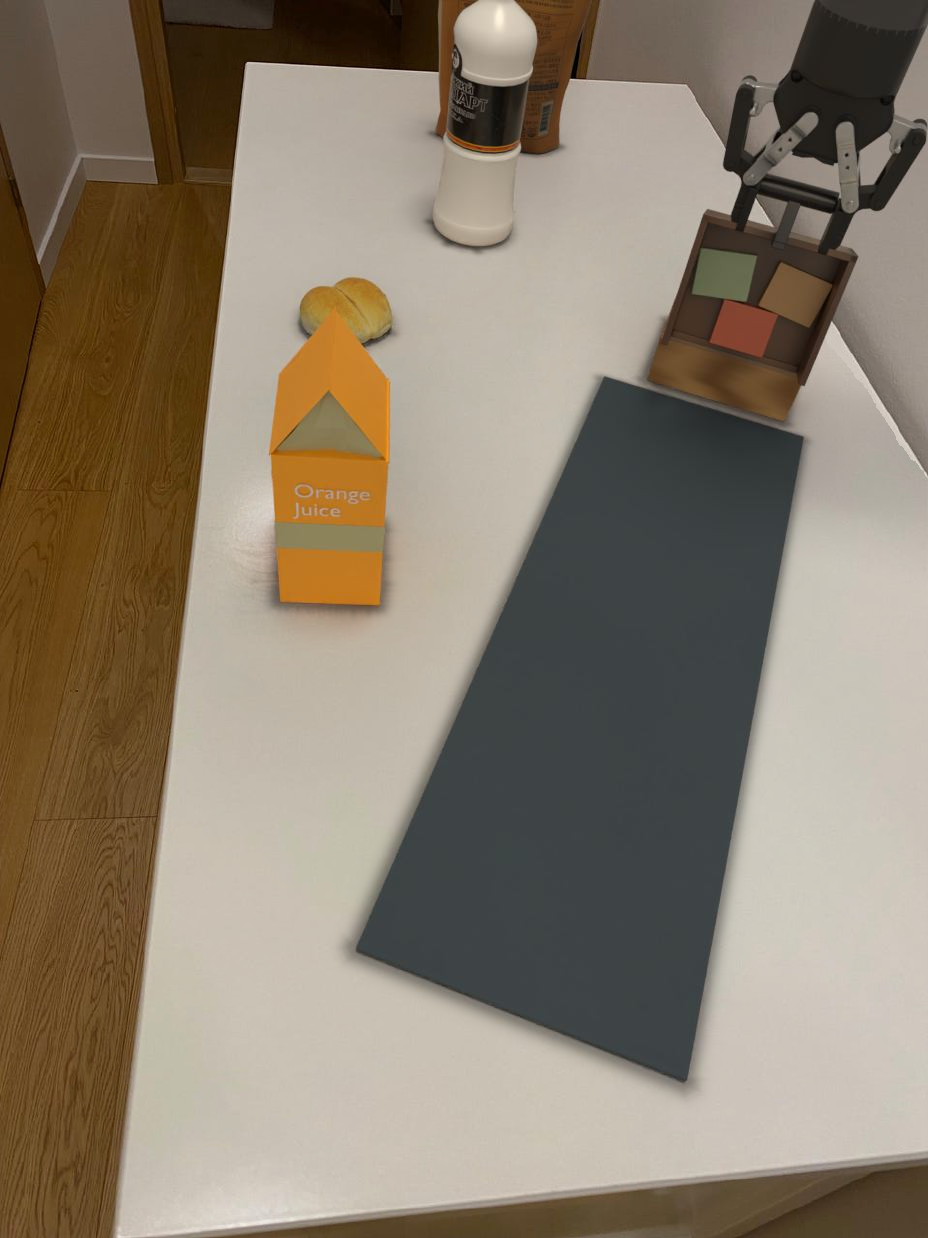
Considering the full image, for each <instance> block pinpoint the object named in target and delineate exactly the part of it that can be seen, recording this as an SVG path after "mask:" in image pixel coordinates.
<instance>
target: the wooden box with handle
mask: <svg viewBox="0 0 928 1238" xmlns="http://www.w3.org/2000/svg"><path fill="white" fill-rule="evenodd" d="M758 195H759V196H763V197H766V198H769V199H774V200H777V201H780V202H781V201H782V202H785V203H786V205H785V207H784V210H783V213H782V216H781V219H780V221H779V224H778V227H775V226H772V225H767V224H764V223H761V222H757V221H754V220H749V219H748V221H747V224H746V226H745V229H744V232H739V231H735V228H736V225H737V223H735V222H731V214H728V213H724V212H721V211H717V210H714V209H710V208H706V209H705V211H704V213H703V214H702V217H701V220H700V223H699V226H698V229H697V232H696V235H695V238H694V241H693V244H692V248H691V249H690V250H691V251H690V253H689V256H688V259H687V262H686V266H685V269H684V271H683V274H682V277H681V281H680V283H679V287H678V289H677V292H678V293H677V292H676V295H677V296H676V295H675V297H676V299H675V298H674V300H675V302H674V301H673V303H674V305H673V304H672V305H673V308H672V307H671V308H672V311H671V314H670V317H669V320H668V323H667V326H666V329H665V332H664V335H663V338H662V341H661V344H663V345H666V346H667V345H668V342H669V340H670V338H671V336H672V337H675V338H678V339H681V340H685V341H688V342H692V343H695V344H698V345H702V346H705V347H709V348H712V349H715V350H719V351H722V352H726V353H729V354H732V355H736V356H739V357H743V358H746V359H749V360H753V361H756V362H760V363H763V364H766V365H770V366H773V367H776V368H780V369H783V370H787V371H790V372H793V373H797V379H798V385H801V387H806V384H807V382H808V379H809V377H810V375H811V373H812V370H813V368H814V366H815V363H816V360H817V358H818V355H819V353H820V351H821V348H822V345H823V343H824V341H825V339H826V336H827V334H828V331H829V330H830V326H831V324H832V322H833V318H834V317H835V314H836V312H837V310H838V307H839V305H840V302H841V300H842V298H843V295H844V293H845V291H846V288H847V286H848V283H849V281H850V279H851V276H852V274H853V271H854V268H855V266H856V264H857V261H858V259H859V255H858V253H857V252H856V251H855V249H853V248H852V247H848V246H844V245H840V246H839V247H838V248H837V249H836V250H833V249H829V251H828V253H827V255H822V254H819V253H817V252H818V248H819V244H820V241H821V239H818V238H816V237H812V236H808V235H805V234H804V235H803V234H801V233H798V232H793V231H792V229H793V226H794V224H795V221H796V219H797V216H798V214H799V212H800V208H801V207H803V208H807V209H810V210H813V211H818V212H821V213H825V214H828V215H832V213H833V211H834V208H835V206H836V204H837V201H838V199H839V198H840V196H841V192H839V191H835V190H833V189H828V188H825V187H820V186H817V185H813V184H810V183H806V182H802V181H799V180H794V179H791V178H787V177H783V176H780V175H775V174H772V173H769V172H768V173H767V174H766V175H765V176H764V177H763V178H762V181H761V184H760V187H759V190H758V193H757V196H758ZM702 246H704V247H712V248H719V249H726V250H734V251H741V252H749V253H756V254H757V260H756V265H755V269H754V273H753V278H752V282H751V286H750V290H749V295H748V299H747V302H745V303H749V304H752V305H756V306H759V305H758V302H759V300H760V299H761V297H762V295H763V293H764V291H765V289H766V287H767V285H768V283H769V281H770V279H771V277H772V275H773V274H774V272H775V270H776V268H777V266H778V264H779V262H780V260H782V261H784V262H786V263H788V264H791V265H793V266H795V267H798V268H800V269H802V270H804V271H807V272H809V273H811V274H813V275H816V276H818V277H820V278H823V279H825V280H827V281H829V282H832V284H833V287H832V289H831V290H830V292H829V294H828V296H827V298H826V299H825V301H824V303H823V305H822V307H821V308H820V310H819V312H818V314H817V316H816V317H815V319H814V321H813V323H812V325H811V326H810V328H808V327H806V326H803V325H801V324H799V323H797V322H794V321H792V320H790V319H788V318H785V317H783V316H781V315H778V317H777V320H776V322H775V325H774V328H773V330H772V333H771V335H770V338H769V341H768V343H767V346H766V348H765V351H764V354H763V356H762V358H760V357H757V356H754V355H750V354H747V353H743V352H740V351H737V350H733V349H730V348H726V347H723V346H720V345H716V344H713V343H710V342H709V341H710V338H711V335H712V332H713V329H714V326H715V323H716V321H717V318H718V315H719V312H720V309H721V307H722V304H723V301H724V299H722V298H715V297H708V296H701V295H694V294H692V293H691V292H692V288H693V283H694V278H695V273H696V268H697V263H698V258H699V253H700V249H701V247H702ZM759 307H760V306H759Z"/></svg>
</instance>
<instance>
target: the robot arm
mask: <svg viewBox="0 0 928 1238" xmlns="http://www.w3.org/2000/svg"><path fill="white" fill-rule="evenodd" d="M927 27H928V0H814V2H813V3H812V6H811V9H810V11H809V14H808V17H807V20H806V23H805V27H804V28H803V31H802V35H801V37H800V39H799V43H798V46H797V48H796V51H795V55H794V57H793V60H792V63H791V66H790V69H789V70H788V72H786V73H787V74H785V76H784V77H783V78H782V79H780V81H779V82H778V83H773V82H764V81H763V82H762V81H758V79H757V77H756V76H754V75H750V74H749V75H745V76H744V77H743V78H742V79H741V82H740V84H739V86H738V88H737V91H736V93H735V97H734V102H733V108H732V113H731V119H730V124H729V129H728V134H727V140H726V146H725V150H724V156H723V160H722V168H723V169H724V170H725V171H726V172H728V173H732V172H733V173H734V174H736V175H737V176H738V177H739V180H740V187H739V190H738V193H737V195H736V199H735V201H734V205H733V208H732V211H731V213H730V215H731V222H735V223H737V225H736V228H735V231H739V232H744V229H745V226H746V224H747V221H748V220H749V217H750V215H751V212H752V209H753V207H754V204H755V201H756V198H757V196H758V194H757V193H758V190H759V187H760V184H761V181H762V178H763V177H764V176H765V175H766V174H767V173H769V172H770V171H771V170H772V169H773V168H774V167H776V166H777V165H779V164H780V163H781V162H782V160H784V158H786V157H787V155H788V154H790V152H792V153H791V156H794V157H798V158H802V159H808V158H809V159H810V158H811V159H815V160H817V161H818V162H820V163H821V164H824V165H828V166H831V167H834V166H835V164H837V166H838V179H839V180H838V182H839V186H840V187H839V188H840V197H839V198H838V201H837V204H836V206H835V208H834V211H833V213H832V214H830V217H829V220H828V222H827V224H826V227H825V229H824V231H823V233H822V236H821V238H820V240H821V241H820V244H819V248H818V252H817V253H819V254H822V255H827V253H828V251H829V249H833V250H836V249H837V248H838V247H839V246H840V245H841V244H842V243H843V240H844V238H845V236H846V233H847V231H848V229H849V227H850V225H851V223H852V220H853V218H854V216H855V215H856V213H858V212H859V211H862V210H871V211H873V212H880V211H883V210H884V209H885V208H886V206H887V205H888V203H889V202H890V200H891V198H892V197H893V195H894V193H895V192H896V190H897V189H898V187H899V186H900V184H901V183H902V181H903V180H904V178H905V176H906V175H907V173H908V172H909V170H910V169H911V167H912V165H913V164H914V162H915V161H916V159H917V158H918V156H919V154H920V153H921V151H922V150H923V148H924V146H925V145H926V142H927V138H928V137H927V135H928V122H927V121H926V120H925V119H924V118H916V119H914V120H913V121H912V120H909V119H907V118H905V117H902V116H901V115H897V114H895V110H896V109H895V101H896V98H897V95H898V93H899V91H900V90H901V86H902V84H903V82H904V79H905V77H906V75H907V73H908V70H909V68H910V66H911V63H912V62H913V59H914V57H915V55H916V52H917V50H918V48H919V46H920V44H921V41H922V40H923V37H924V34H925V32H926V30H927ZM769 103H773V107H774V111H775V114H776V117H777V121H778V124H779V125H778V126H779V127H778V128H777V129H776V130H775V131H774V132H773V133H772V134H771V135H770V137H769V138H768V139H767V141H766V142H765V144H763V145H762V147H760V149H758V151H757V152H756V153H754V155H753V154H751V153H750V152H749V151H748V150H746V149H745V148H746V143H747V138H748V133H749V130H750V129H749V128H750V123H751V119H752V118H755V117H758V116H760V115H761V113H762V111H763V108H764V107H765V106H766V105H767V104H769ZM886 133H887V134H889V135H890V139H889V146H888V150H889V152H890V153H891V155H890V157H889V158H888V160H887V162H886V163H885V165H884V166H883V168H882V170H881V171H880V173H879V175H878V176H877V178H876V180H875V181H874V182H873V183H872V184H863V185H862V175H861V161H862V160H861V151H862V150H864V149H865V148H866V147H868V146H870V144H872V143H874V142H875V141H876V140H878V139H880V137H882V136H883V135H885V134H886ZM841 246H842V245H841Z"/></svg>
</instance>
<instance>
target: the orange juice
mask: <svg viewBox="0 0 928 1238" xmlns="http://www.w3.org/2000/svg"><path fill="white" fill-rule="evenodd" d="M276 386H277V387H276V396H275V403H274V411H273V419H272V427H271V433H270V434H271V435H270V443H269V449H268V450H269V451H268V457H270V465H271V471H270V472H271V473H270V475H271V483H272V495H273V511H274V513H273V514H274V536H275V537H274V538H275V549H276V556H277V557H276V558H277V559H276V560H277V573H278V574H277V575H278V589H279V602H280V603H299V604H325V605H352V606H353V605H354V606H355V605H356V606H357V605H358V606H380V605H381V587H382V574H383V573H382V572H383V558H384V557H383V555H384V549H385V548H384V547H385V531H386V508H387V493H388V492H387V491H388V487H389V480H388V478H389V464H390V462H391V461H390V458H391V457H390V455H391V454H390V452H391V449H390V447H391V446H390V441H391V440H390V439H391V437H390V435H391V382H390V378H387V376H386V375H385V373H384V372H383V371H382V369H381V368H380V367H379V366H378V364H377V363H376V361H375V359H373V358H372V356H371V354H370V353H369V352H368V351H367V349H366V348H365V347H364V346H363V343H362V344H361V343H360V342H359V340H358V339H357V338H356V336H355V335H354V334H353V332H352V331H351V330H350V328H349V327H348V326H347V324H346V323H345V322H344V320H343V319H342V318H341V316H340V315H339V314H338V312H337V311H336V307H335V308H334V310H333V311H332V312H331V313H330V314H329V315H328V317H327V318H326V319H325V320H324V321H323V323H322V324H321V325H320V326H319V327H318V328H317V330H316V331H315V332H314V333H313V334H312V335H311V336H310V337H309V338H308V339H307V340H306V341H305V343H304V344H303V345H302V346H301V347H300V348H299V350H298V351H297V352H296V353H295V354H294V356H292V358H291V359H290V360H289V362H288V363H287V364H286V365H285V367H284V368H282V370H281V371H280V372H279V373H278V379H277V385H276Z"/></svg>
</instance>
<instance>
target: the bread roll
mask: <svg viewBox="0 0 928 1238" xmlns="http://www.w3.org/2000/svg"><path fill="white" fill-rule="evenodd" d="M335 307H336V311H337V312H338V314H339V315H340V316H341V318H342V319H343V320H344V322H345V323H346V324H347V326H348V327H349V328H350V330H351V331H352V332H353V334H354V335H355V336H356V338H357V339H358V340H359V342H360V343H361V344H362V345H363V344H364V343H367V342H368V341H369V340H370V339H378V338H380V337H382V336H384V334H386V333H388V331H389V330H390V329H391V327H392V326H393V324H394V317H393V312H392V309H391V305H390V302H389V299H388V298H387V295H386V293H384V291H382V290H381V288H380V286H378V285H376V284H375V283H374V282H373V281H371V280H368V279H366V278H363V277H356V276H355V277H354V276H352V277H351V276H350V277H344V278H342V279H340V280H339V281H338V282H336V283H334V285H333V286H328V285H320V286H316V287H315V286H314V287H313V288H311V289H310V290H308V291H307V292H306V293H305V294H304V296H303V297H302V298H301V300H300V305H299V317H300V322H301V325H302V327H303V329H304V330H305V331H306V332H307V333H308V334H310V335H311V336H312V334H313V333H314V332H315V331H316V330H317V328H318V327H319V326H320V325H321V324H322V323H323V321H324V320H325V319H326V318H327V317H328V315H329V314H330V313H331V312H332V311H333V310H334V308H335Z"/></svg>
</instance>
